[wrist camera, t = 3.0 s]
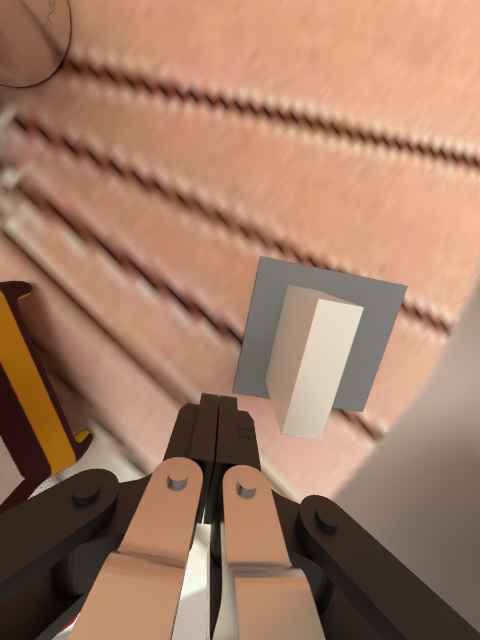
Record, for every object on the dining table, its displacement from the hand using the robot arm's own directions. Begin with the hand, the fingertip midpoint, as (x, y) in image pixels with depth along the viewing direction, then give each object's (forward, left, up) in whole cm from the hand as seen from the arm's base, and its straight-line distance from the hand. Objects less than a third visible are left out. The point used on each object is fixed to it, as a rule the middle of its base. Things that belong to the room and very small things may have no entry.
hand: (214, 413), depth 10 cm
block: (+7, 0, -14) cm, 15 cm away
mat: (+10, 0, -14) cm, 17 cm away
